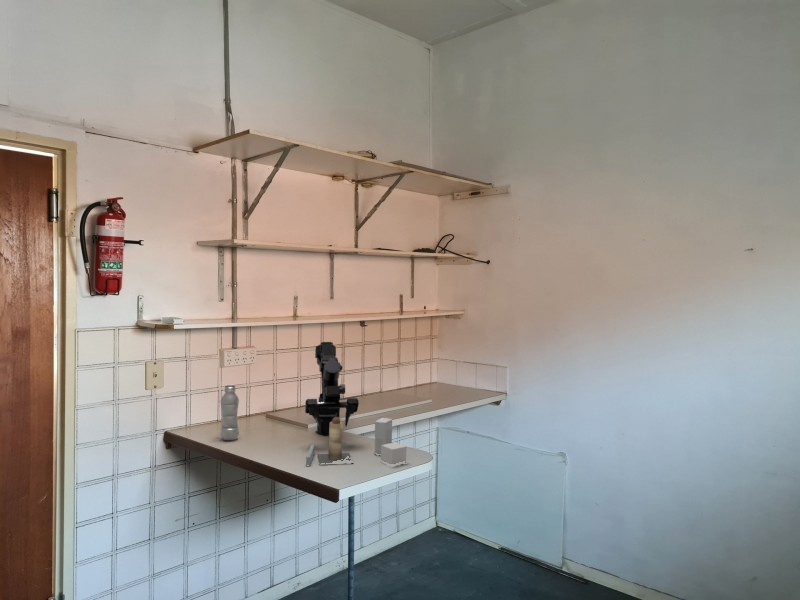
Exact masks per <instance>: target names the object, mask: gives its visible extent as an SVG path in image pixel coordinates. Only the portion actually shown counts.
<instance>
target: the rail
mask: <svg viewBox="0 0 800 600" xmlns="http://www.w3.org/2000/svg"><path fill="white" fill-rule="evenodd" d="M315 447H316V445H315V444H310V447H309V448H308V449H309V450H308V452H307V454H306V457H305V466H306V465H310V466H311V464H312V462H313V459H312V458H314V456H315ZM313 455H314V456H313ZM311 461H312V462H311ZM310 463H311V464H310Z"/></svg>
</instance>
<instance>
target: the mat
mask: <svg viewBox="0 0 800 600" xmlns="http://www.w3.org/2000/svg"><path fill="white" fill-rule="evenodd" d="M328 454H329V453H317V454H316V455H318V456H317V460H318V459H319V460H318V463H320V464H321V463H325V464H326V463H332V462H333V461H337V460H330V459H328ZM347 456H349V458H350V457H351V458H352V456H351V454H350V452H342V458H341V459H343V460H344V459H345V458H346V457H347ZM349 458H348V459H346V460H349V461H350V460H351V459H349ZM341 459H340V460H341ZM343 460H341V461H343ZM320 464H319V465H320Z"/></svg>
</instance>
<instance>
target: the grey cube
mask: <svg viewBox="0 0 800 600" xmlns="http://www.w3.org/2000/svg"><path fill="white" fill-rule="evenodd" d="M381 460H382V461H384V462H387V463H389V464H396V463H399V462H403V461H406V462H407V446H406V445H404V444H401V443H398V442H392V443H389V444H384V445H381V456H380V461H381Z"/></svg>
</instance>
